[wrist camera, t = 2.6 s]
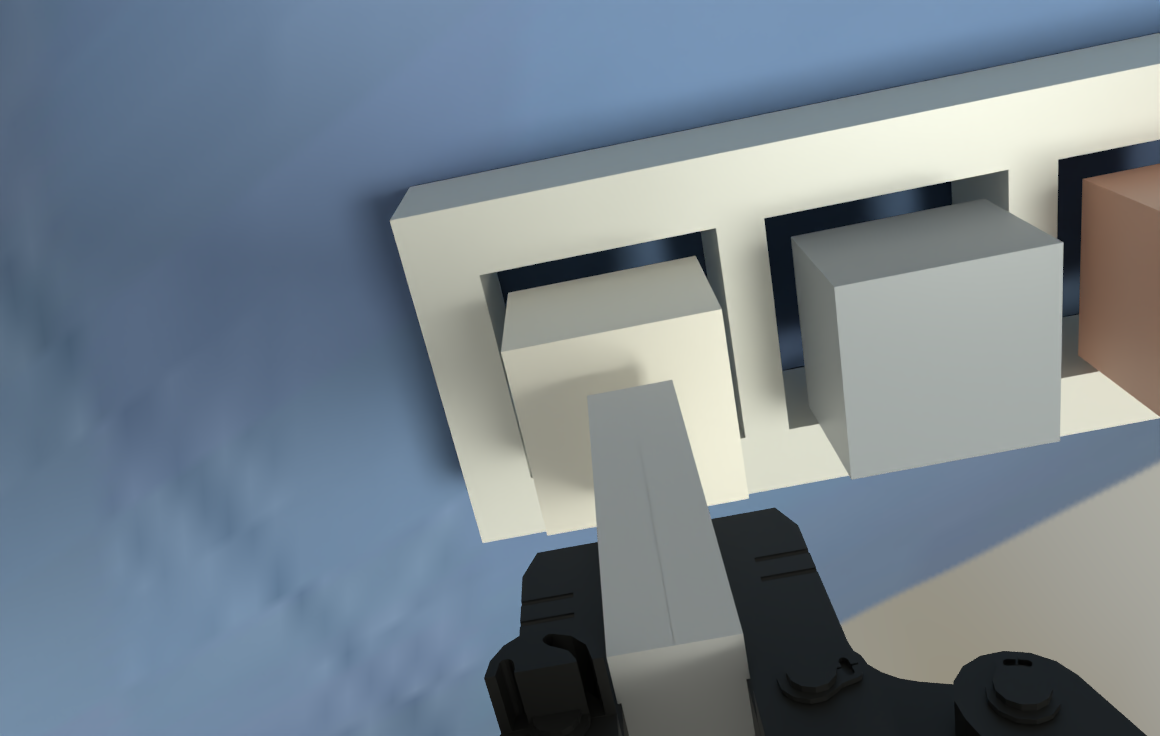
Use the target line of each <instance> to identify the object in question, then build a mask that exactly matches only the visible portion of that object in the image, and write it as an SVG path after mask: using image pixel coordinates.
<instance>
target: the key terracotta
mask: <svg viewBox="0 0 1160 736" xmlns="http://www.w3.org/2000/svg"><path fill="white" fill-rule="evenodd" d="M1078 356H1080V357H1081V358H1082V359H1084V360H1085V361H1086V362H1088V363H1089V364H1090V365H1092V366H1093V367H1094V368H1096V369H1097V370H1098V371H1100V372H1101V373H1102V374H1104V375H1105V376H1106V377H1108V378H1109V379H1110V380H1112V381H1113V382H1114V383H1116V384H1117V385H1118V386H1120V387H1121V388H1122V389H1124V390H1125V391H1126V392H1127V393H1129V394H1130V395H1131V396H1133V397H1134V398H1135V399H1137V400H1138V401H1139V402H1141V403H1142V404H1143V405H1145V406H1146V407H1147V408H1149V409H1150V410H1151V411H1153V412H1154V413H1155V414H1157V415H1158V416H1159V417H1160V164H1155V165H1150V166H1145V167H1140V168H1135V169H1130V170H1125V171H1120V172H1115V173H1110V174H1105V175H1100V176H1095V177H1090V178H1085V179H1083V184H1082V223H1081V262H1080V301H1079V340H1078Z"/></svg>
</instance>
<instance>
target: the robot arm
mask: <svg viewBox="0 0 1160 736" xmlns="http://www.w3.org/2000/svg"><path fill="white" fill-rule="evenodd" d="M587 402H588V416H589V429H590V443H591V456H592V469H593V483H594V496H595V510H596V523H597V537H598V542H596V543H590V544H584V545H579V546H573V547H568V548H562V549H557V550H551V551H546V552H540V553H537V555H536V556H535V558H534V559H533V561H532V563H531V564H530V566H529V567H528V569H527V571H526V572H525V574H524V576H523V579H522V599H521V602H522V606H521V618H520V623H521V627H520V636H519V637H517V638H516V639H514V640H512V641H511V642H509V643H507V644H506V645H504V646H503V647H502V648H501V649H500V651H499V652H498V653H497V654H496V655H495V656H494V657H493V659H492V660H491V661H490V663H489V666H488V669H487V672H486V674H485V677H484V679H485V682H486V685H487V689H488V692H489V695H490V698H491V702H492V705H493V708H494V711H495V714H496V718H497V721H498V724H499V727H500V731H501V735H500V736H1147V735H1145V734H1144V733H1143V732H1142V731H1141V730H1140V729H1138V728H1137V727H1136V726H1135V725H1134V724H1133V723H1132V722H1131V721H1130V720H1128V719H1127V718H1126V717H1125V716H1124V715H1123V714H1122V713H1120V712H1119V711H1118V710H1117V709H1116V708H1114V706H1112V705H1111V704H1110V703H1109V702H1108V701H1106V700H1105V699H1104V698H1103V697H1102V696H1101V695H1100V694H1098V692H1096V691H1095V690H1094V689H1093V688H1092V687H1091V686H1090V685H1089V684H1087V683H1086V682H1085V681H1084V680H1083V679H1082V678H1080V677H1079V676H1078V675H1077V674H1075V673H1074V672H1072V671H1070V670H1069V669H1067V668H1066V667H1064V666H1063V665H1061V664H1060V663H1058V662H1057V661H1054V660H1051V659H1048V658H1044V657H1041V656H1038V655H1035V654H1032V653H1024V652H1009V651H1002V652H997V653H992V654H987V655H983V656H979V657H978V658H976V659H974V660H973V661H971V662H969V663H968V664H966V665H964V666H963V667H962V669H961V670H960V672H959V674H958V675H957V677H956V679H955V680H954V685H952V684H940V683H928V682H917V681H911V680H905V679H899V678H896V677H893V676H891V675H888V674H885V673H882V672H880V671H878V670H877V669H874V668H873V667H871V666H870V665H868V664H867V663H866V662H865V660H864V659H863V658H862V656H861V655H859V654H858V653H856V652H854V651H853V649H852V648H851V646H850V645H849V643H848V641H847V639H846V637H845V634H844V632H843V630H842V627H841V625H840V623H839V620H838V618H837V616H836V613H835V611H834V609H833V606H832V604H831V602H830V599H829V597H828V595H827V592H826V590H825V588H824V585H823V583H822V581H821V578H820V576H819V574H818V572H817V571H816V567H815V564H814V562H813V560H812V557H811V555H810V553H809V552H808V548H807V546H806V543H805V541H804V539H803V536H802V534H801V532H800V529H799V527H798V525H797V524H795V523H794V522H793V521H792V520H790V519H789V518H788V517H786V516H785V515H784V514H782V513H781V512H780V511H779V510H777V509H776V508H771V509H765V510H760V511H754V512H748V513H743V514H737V515H732V516H726V517H721V518H715V519H711V517H710V513H709V510H708V506H707V502H706V499H705V495H704V492H703V488H702V485H701V481H700V477H699V474H698V470H697V467H696V463H695V459H694V456H693V452H692V449H691V445H690V442H689V438H688V434H687V431H686V427H685V424H684V420H683V416H682V413H681V409H680V406H679V402H678V398H677V395H676V391H675V388H674V384H673V381H672V380H668V381H662V382H657V383H652V384H646V385H641V386H636V387H631V388H625V389H620V390H615V391H609V392H604V393H599V394H594V395H588V396H587Z"/></svg>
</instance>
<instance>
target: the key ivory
mask: <svg viewBox="0 0 1160 736" xmlns="http://www.w3.org/2000/svg"><path fill="white" fill-rule="evenodd" d="M501 354H502V358H503V362H504V366H505V370H506V374H507V378H508V382H509V386H510V390H511V393H512V397H513V401H514V405H515V409H516V413H517V417H518V421H519V425H520V429H521V433H522V437H523V441H524V445H525V449H526V453H527V457H528V461H529V465H530V468H531V472H532V476H533V480H534V484H535V488H536V492H537V496H538V500H539V504H540V508H541V512H542V516H543V520H544V524H545V528H546V532H547V536H548V535H553V534H559V533H564V532H570V531H575V530H581V529H586V528H591V527H597V523H596V510H595V496H594V483H593V469H592V456H591V443H590V429H589V416H588V402H587V396H588V395H594V394H599V393H604V392H609V391H615V390H620V389H625V388H631V387H636V386H641V385H646V384H652V383H657V382H662V381H668V380H672V381H673V384H674V388H675V391H676V395H677V398H678V402H679V406H680V409H681V413H682V416H683V420H684V424H685V427H686V431H687V434H688V438H689V442H690V445H691V449H692V452H693V456H694V459H695V463H696V467H697V470H698V474H699V477H700V481H701V485H702V488H703V492H704V495H705V499H706V502H707V506H711V505H716V504H722V503H727V502H732V501H738V500H743V499H749V495H748V488H747V481H746V474H745V467H744V460H743V453H742V446H741V439H740V432H739V425H738V418H737V411H736V404H735V397H734V390H733V383H732V377H731V370H730V363H729V356H728V349H727V342H726V335H725V328H724V321H723V314H722V308H721V306H720V304H719V302H718V300H717V298H716V296H715V294H714V292H713V290H712V288H711V286H710V284H709V282H708V280H707V278H706V276H705V274H704V272H703V270H702V268H701V266H700V264H699V262H698V260H697V258H696V256H691V257H686V258H681V259H676V260H671V261H666V262H661V263H656V264H651V265H646V266H641V267H636V268H631V269H626V270H621V271H616V272H611V273H606V274H601V275H596V276H591V277H586V278H581V279H576V280H570V281H565V282H560V283H555V284H550V285H545V286H540V287H535V288H530V289H525V290H520V291H515V292H510V293H508V298H507V307H506V315H505V323H504V332H503V340H502V348H501Z"/></svg>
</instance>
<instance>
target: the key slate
mask: <svg viewBox="0 0 1160 736" xmlns="http://www.w3.org/2000/svg"><path fill="white" fill-rule="evenodd" d="M791 243H792V252H793V262H794V271H795V280H796V290H797V299H798V308H799V318H800V327H801V336H802V346H803V355H804V364H805V374H806V383H807V392H808V402H809V407H810V409H811V410H812V412H813V414H814V416H815V417H816V419H817V421H818V423H819V424H820V426H821V428H822V429H823V431H824V433H825V435H826V436H827V438H828V440H829V442H830V443H831V445H832V447H833V448H834V450H835V452H836V454H837V455H838V457H839V459H840V461H841V462H842V464H843V466H844V467H845V469H846V471H847V473H848V474H849V476H850V478H851V480H852V479H857V478H863V477H868V476H873V475H879V474H884V473H890V472H895V471H901V470H906V469H911V468H917V467H922V466H928V465H933V464H939V463H944V462H949V461H955V460H960V459H966V458H971V457H976V456H982V455H987V454H993V453H998V452H1004V451H1009V450H1014V449H1020V448H1025V447H1031V446H1036V445H1042V444H1047V443H1052V442H1058V441H1060V411H1061V353H1062V296H1063V242H1062V241H1060V240H1058V239H1056V238H1055V237H1053V236H1051V235H1049V234H1047V233H1046V232H1044V231H1042V230H1040V229H1038V228H1037V227H1035V226H1033V225H1031V224H1029V223H1028V222H1026V221H1024V220H1022V219H1020V218H1019V217H1017V216H1015V215H1013V214H1011V213H1010V212H1008V211H1006V210H1004V209H1002V208H1001V207H999V206H997V205H995V204H994V203H992V202H990V201H988V200H986V199H985V198H984V199H979V200H974V201H969V202H964V203H959V204H953V205H948V206H943V207H938V208H933V209H928V210H923V211H918V212H913V213H908V214H903V215H898V216H893V217H888V218H883V219H878V220H873V221H868V222H863V223H858V224H853V225H848V226H843V227H838V228H833V229H827V230H822V231H817V232H812V233H807V234H802V235H797V236H792V237H791Z"/></svg>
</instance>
